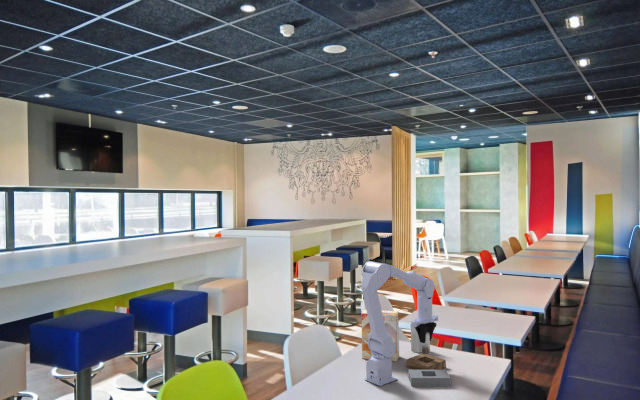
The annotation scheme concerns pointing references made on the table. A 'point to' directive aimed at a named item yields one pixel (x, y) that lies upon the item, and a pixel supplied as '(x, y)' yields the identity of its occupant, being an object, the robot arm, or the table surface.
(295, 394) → the table surface
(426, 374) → the bored beam
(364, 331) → the coffeecake box
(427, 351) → the metal axle
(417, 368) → the walnut seat block
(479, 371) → the table surface
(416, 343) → the skincare box
